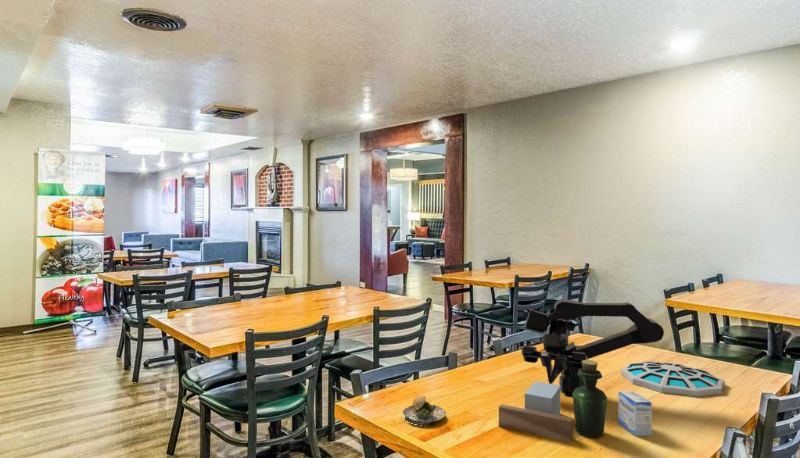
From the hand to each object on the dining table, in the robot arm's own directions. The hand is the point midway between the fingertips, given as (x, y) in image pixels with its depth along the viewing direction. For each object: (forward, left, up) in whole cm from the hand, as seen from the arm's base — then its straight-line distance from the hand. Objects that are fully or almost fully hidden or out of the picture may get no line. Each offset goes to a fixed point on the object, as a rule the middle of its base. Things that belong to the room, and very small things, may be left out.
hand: (550, 383), depth 134 cm
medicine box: (-17, +16, -7) cm, 24 cm away
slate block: (+5, +9, -7) cm, 12 cm away
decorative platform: (-49, -21, -7) cm, 53 cm away
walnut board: (+10, +17, -7) cm, 21 cm away
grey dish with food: (+37, +8, -7) cm, 39 cm away
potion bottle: (-4, +17, -7) cm, 19 cm away
